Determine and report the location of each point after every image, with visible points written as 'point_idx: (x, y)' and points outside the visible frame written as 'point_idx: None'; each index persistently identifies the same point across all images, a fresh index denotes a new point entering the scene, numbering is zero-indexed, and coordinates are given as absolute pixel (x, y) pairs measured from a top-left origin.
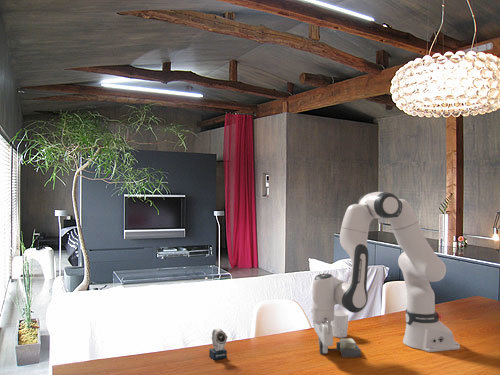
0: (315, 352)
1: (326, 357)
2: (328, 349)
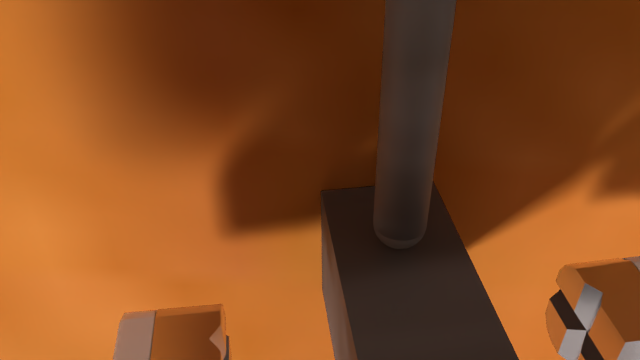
0: (318, 338)
1: (588, 197)
2: (426, 205)
